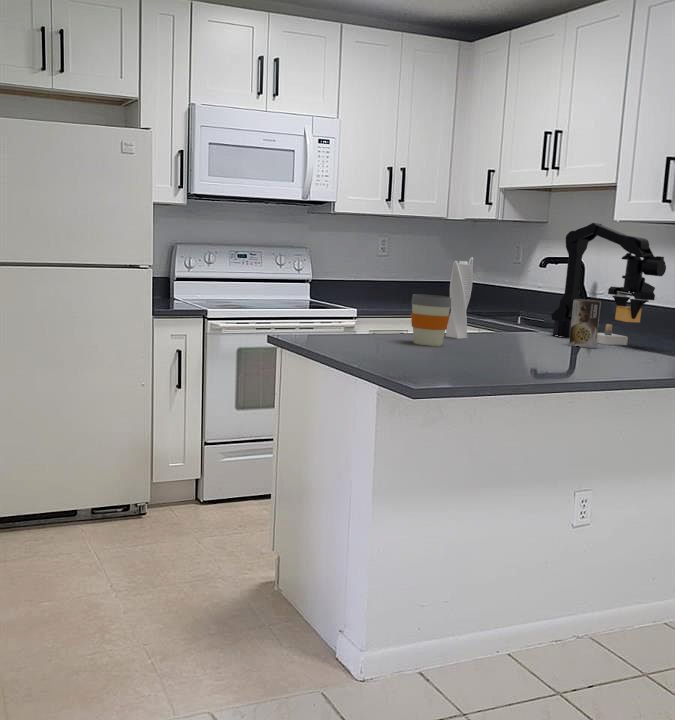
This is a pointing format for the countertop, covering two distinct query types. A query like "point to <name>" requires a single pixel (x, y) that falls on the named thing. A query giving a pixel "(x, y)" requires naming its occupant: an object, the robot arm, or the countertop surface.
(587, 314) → the coffee box
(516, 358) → the countertop surface
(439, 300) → the reusable coffee cup
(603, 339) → the block
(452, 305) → the skyscraper
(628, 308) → the yellow short cylinder
